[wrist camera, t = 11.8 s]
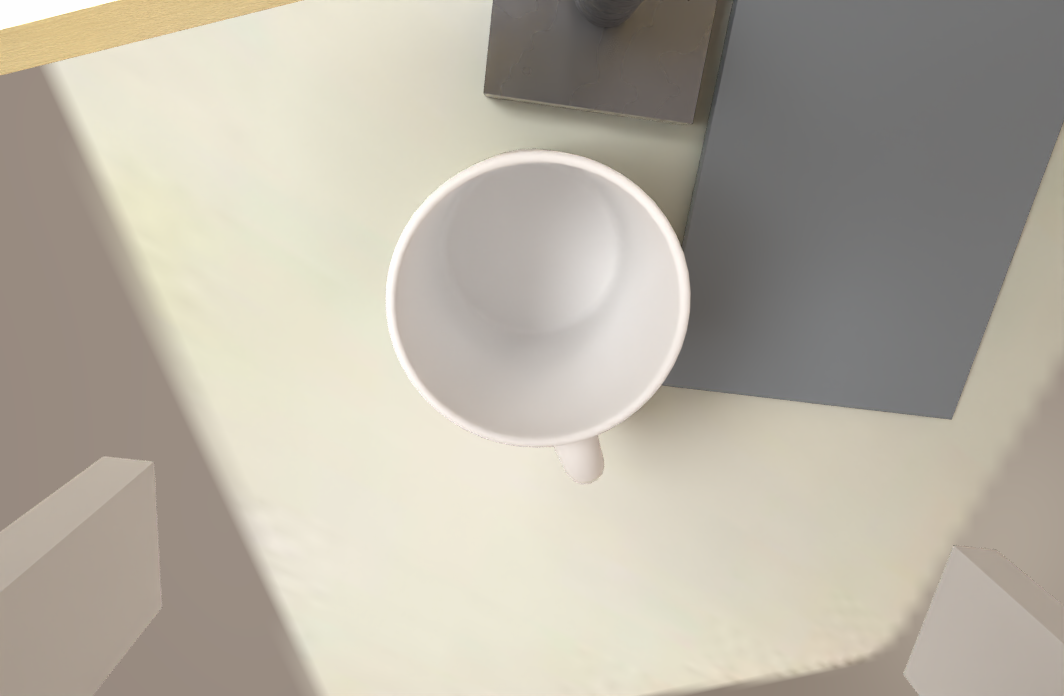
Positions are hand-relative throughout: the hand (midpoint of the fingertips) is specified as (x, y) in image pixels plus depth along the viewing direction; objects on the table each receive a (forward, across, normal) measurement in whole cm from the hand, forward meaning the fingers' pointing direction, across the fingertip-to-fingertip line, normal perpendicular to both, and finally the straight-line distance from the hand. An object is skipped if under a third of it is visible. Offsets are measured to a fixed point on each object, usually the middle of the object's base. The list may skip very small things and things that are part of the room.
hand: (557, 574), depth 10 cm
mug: (+18, 0, +1) cm, 18 cm away
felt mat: (+18, +13, +6) cm, 23 cm away
